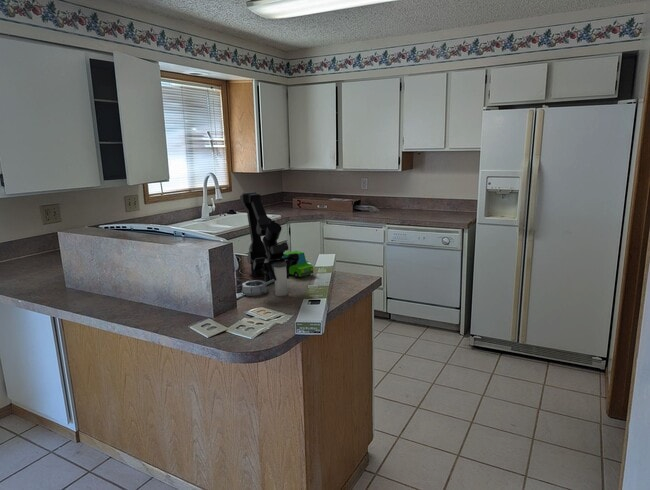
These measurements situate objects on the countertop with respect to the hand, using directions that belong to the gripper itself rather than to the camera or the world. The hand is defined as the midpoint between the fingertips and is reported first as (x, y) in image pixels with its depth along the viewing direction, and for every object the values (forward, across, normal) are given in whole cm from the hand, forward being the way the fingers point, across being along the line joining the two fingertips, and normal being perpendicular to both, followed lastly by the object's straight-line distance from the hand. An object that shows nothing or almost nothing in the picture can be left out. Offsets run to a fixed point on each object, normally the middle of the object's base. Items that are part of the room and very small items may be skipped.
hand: (281, 279), depth 180 cm
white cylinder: (+4, 0, +6) cm, 7 cm away
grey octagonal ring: (-2, -9, +12) cm, 15 cm away
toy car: (-12, +16, +22) cm, 30 cm away
